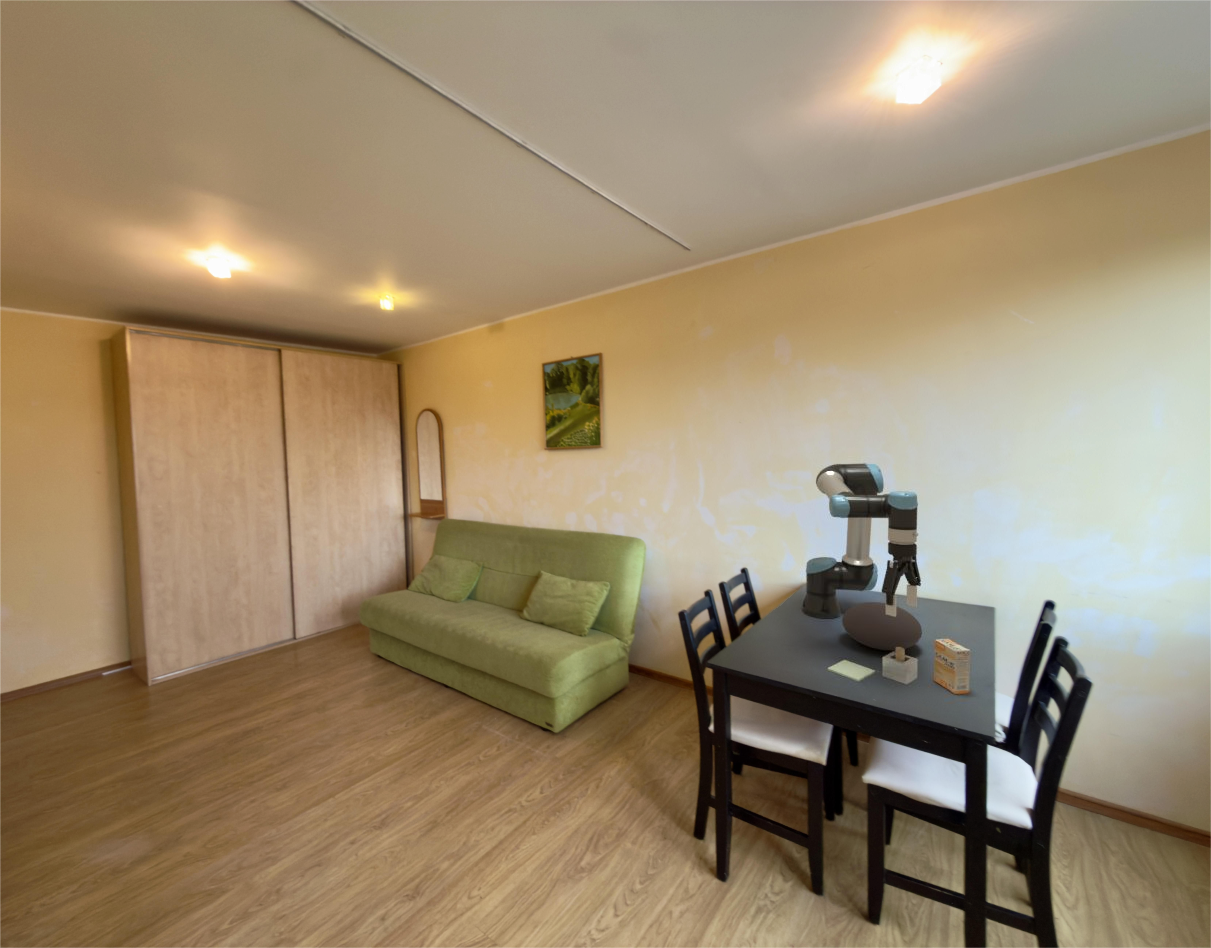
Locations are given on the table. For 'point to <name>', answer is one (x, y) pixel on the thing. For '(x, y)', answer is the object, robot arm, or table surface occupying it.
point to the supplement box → (952, 666)
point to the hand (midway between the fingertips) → (901, 610)
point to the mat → (851, 670)
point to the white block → (900, 668)
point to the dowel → (900, 654)
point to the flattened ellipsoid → (881, 626)
